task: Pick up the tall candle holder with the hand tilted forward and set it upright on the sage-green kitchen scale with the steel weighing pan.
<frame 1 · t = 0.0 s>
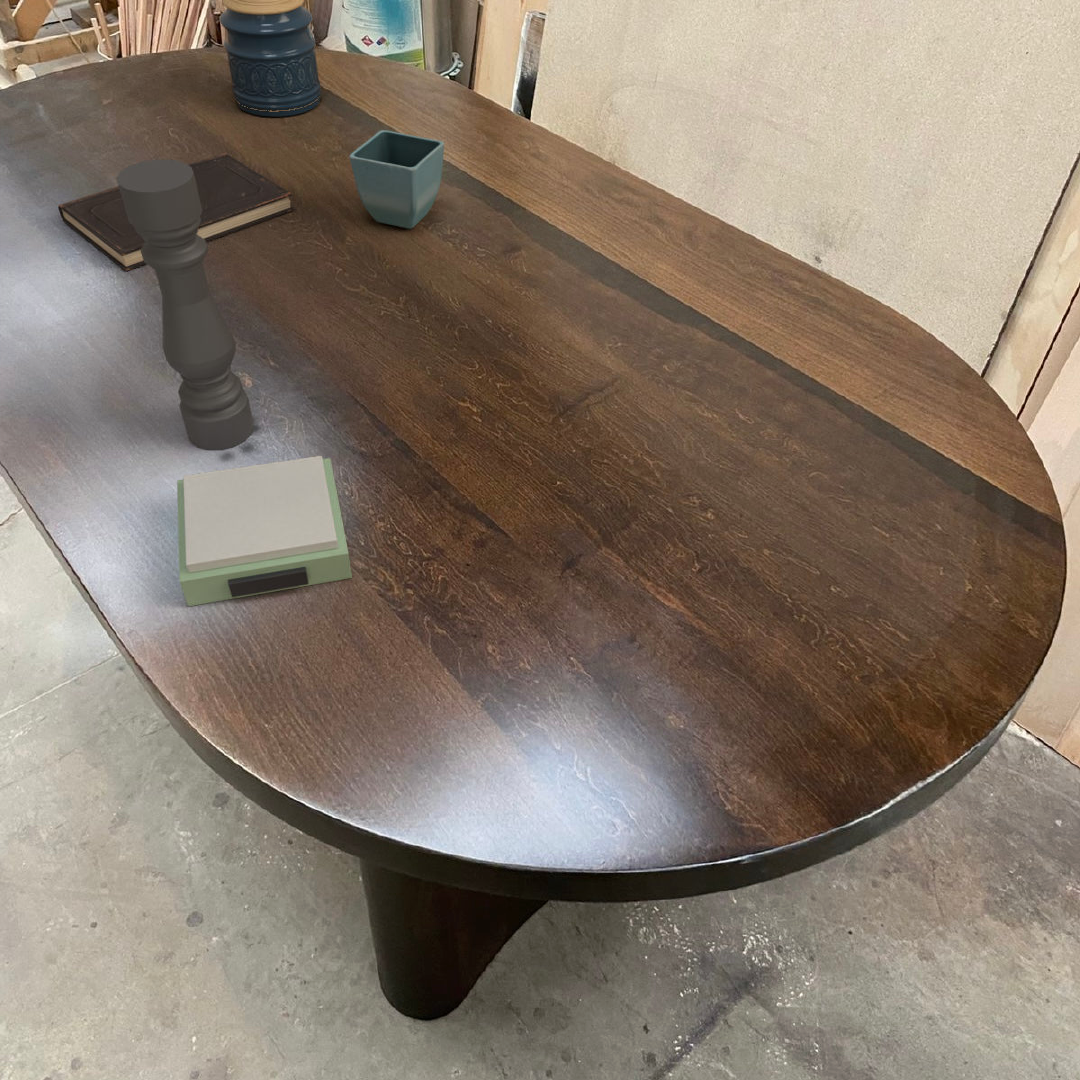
scale: (265, 540, 82), on the table
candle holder: (221, 430, 92), on the table
hardcover book: (180, 217, 121), on the table
canister: (279, 102, 147), on the table
flower pot: (402, 219, 122), on the table
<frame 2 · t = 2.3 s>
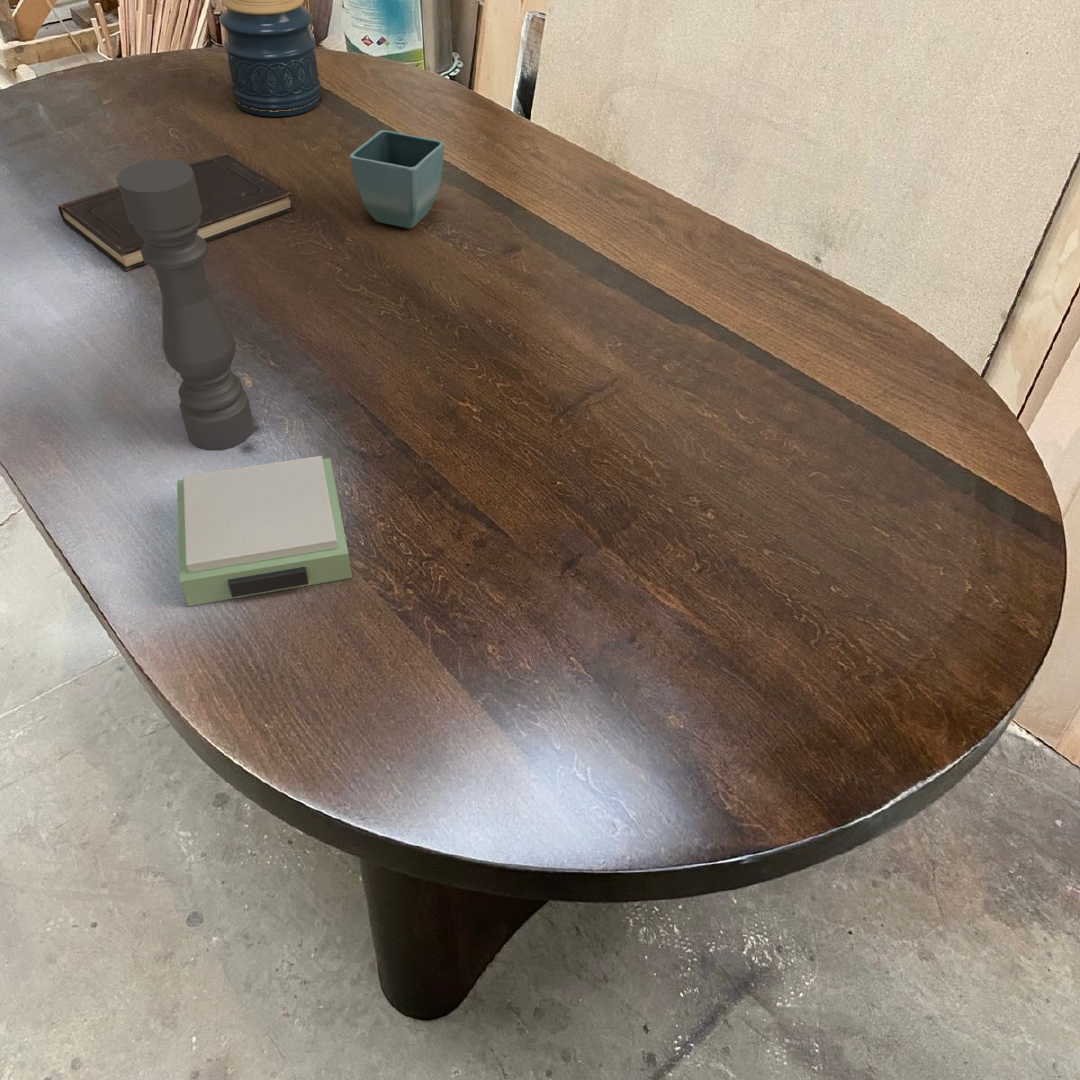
nothing on the table moved.
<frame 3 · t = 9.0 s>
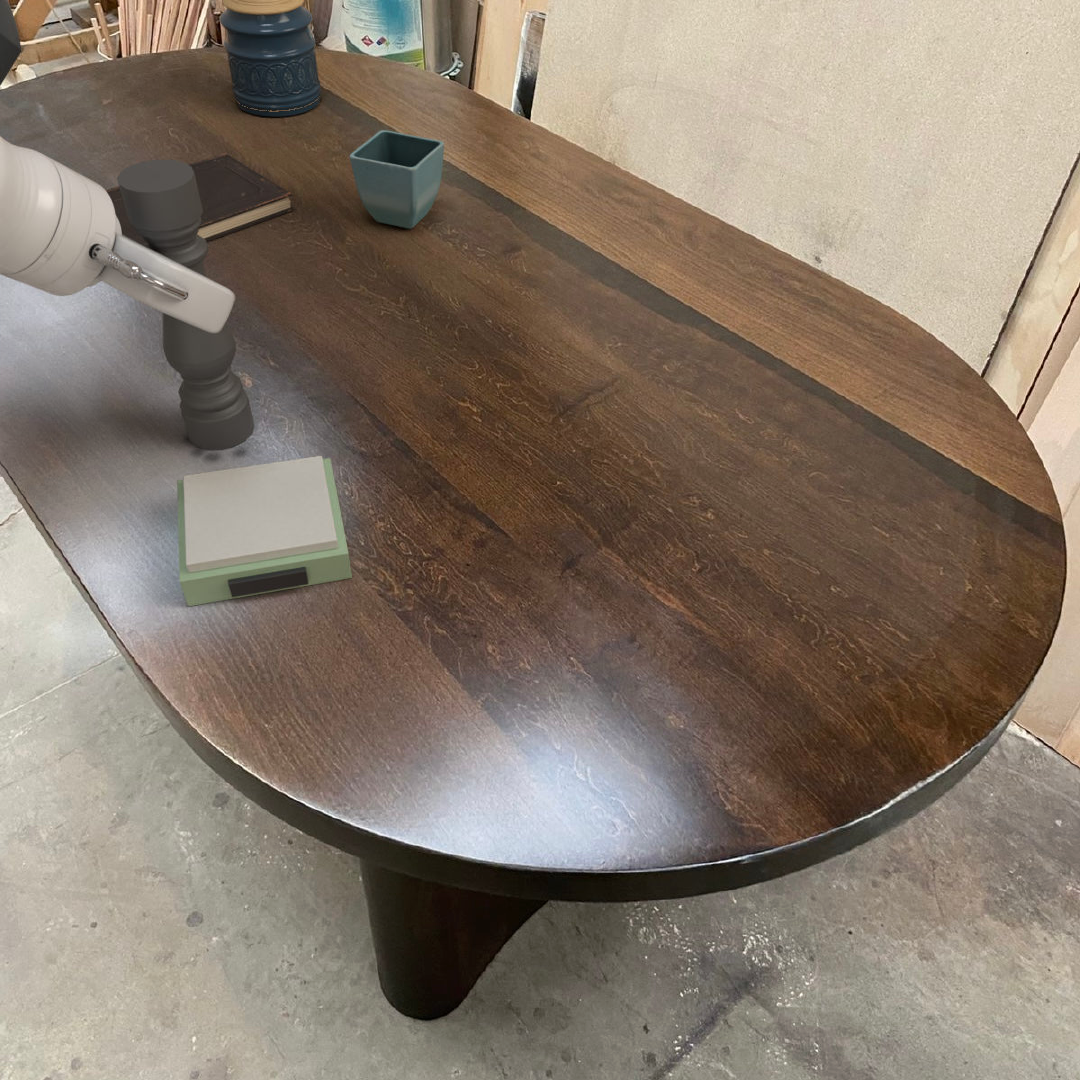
hand: (192, 293, 82), 14 cm above the table, tool tilted 45°, fingers closed on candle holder, 4 cm apart
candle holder: (221, 430, 92), on the table, touching gripper
everything else where it was.
when the fingers open (18 cm above the table, at t = 16.9 s): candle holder stays where it is, resting on scale.
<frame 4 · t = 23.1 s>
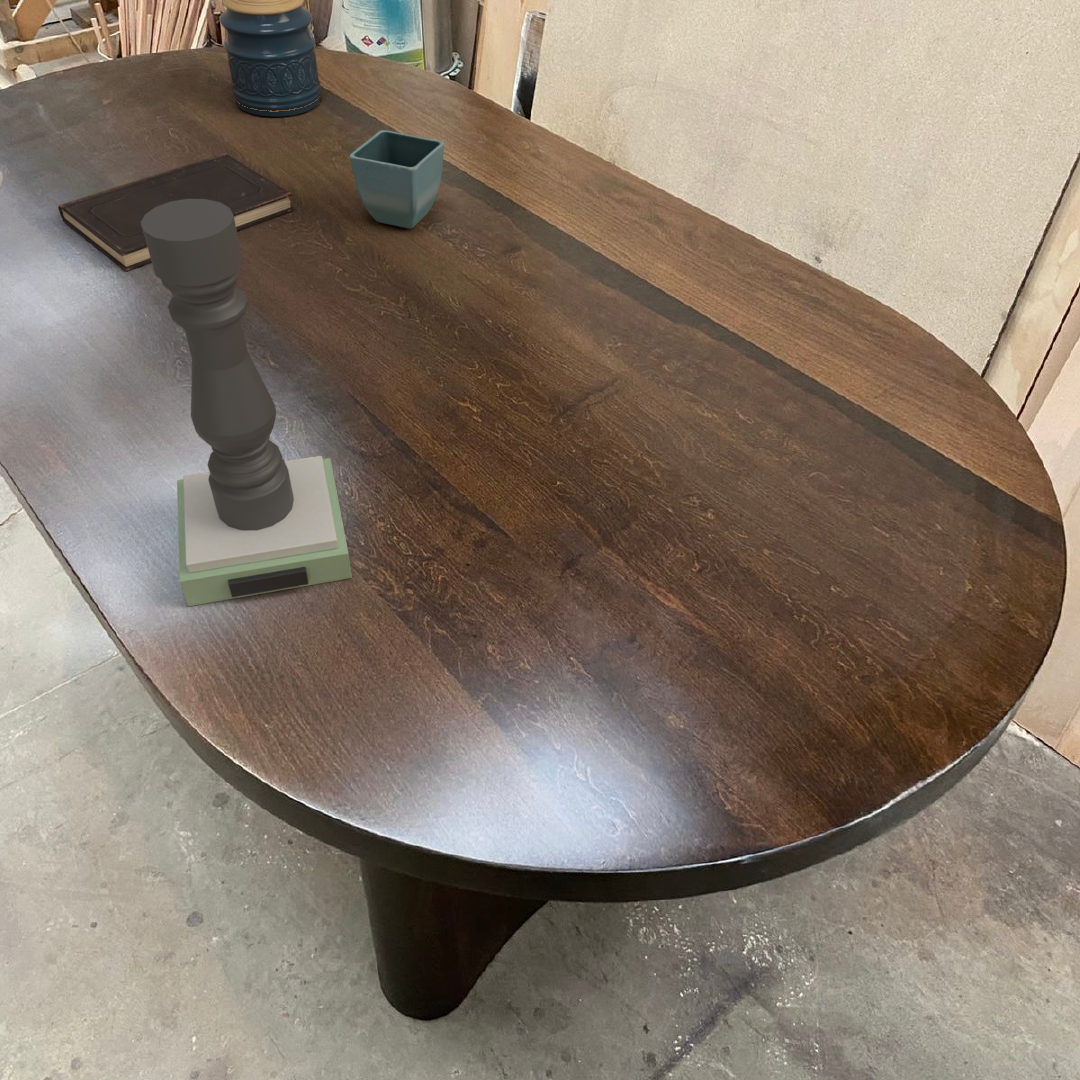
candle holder: (255, 505, 79), point 4 cm above the table, touching scale
everything else where it was.
at the end: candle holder inside the target area on the scale (0.4 cm from its centre), point 3.8 cm above the scale's base; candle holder tilted 0°; the gripper is holding nothing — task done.
